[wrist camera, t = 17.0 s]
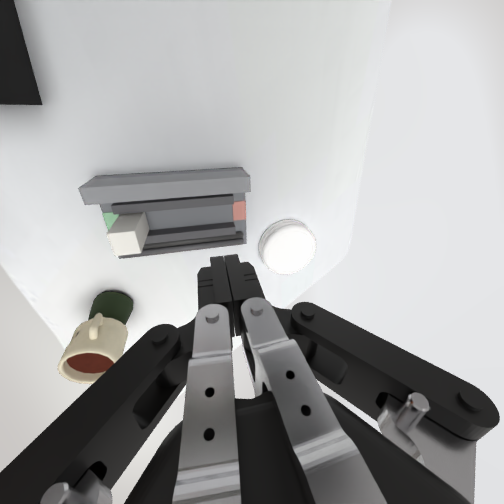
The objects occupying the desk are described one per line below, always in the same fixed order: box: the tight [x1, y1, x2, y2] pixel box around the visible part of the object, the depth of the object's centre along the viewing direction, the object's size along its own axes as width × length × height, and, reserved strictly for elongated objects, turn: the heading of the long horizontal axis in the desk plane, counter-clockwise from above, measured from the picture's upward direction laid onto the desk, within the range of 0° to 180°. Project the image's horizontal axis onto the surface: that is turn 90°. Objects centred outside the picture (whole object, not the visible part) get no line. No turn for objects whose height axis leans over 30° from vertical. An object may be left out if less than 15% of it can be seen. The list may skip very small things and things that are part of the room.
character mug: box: [58, 292, 133, 384], centre depth 37 cm, size 11×7×13 cm, turn 165°
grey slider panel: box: [78, 167, 250, 259], centre depth 34 cm, size 12×20×6 cm, turn 91°
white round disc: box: [259, 220, 316, 275], centre depth 43 cm, size 10×10×4 cm
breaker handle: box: [107, 212, 149, 256], centre depth 31 cm, size 3×3×7 cm
